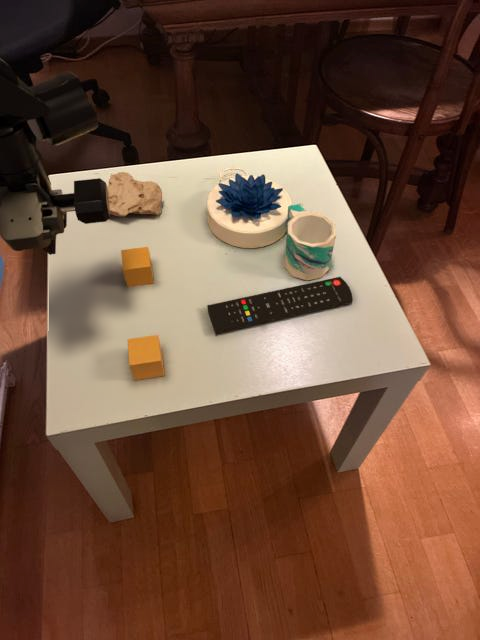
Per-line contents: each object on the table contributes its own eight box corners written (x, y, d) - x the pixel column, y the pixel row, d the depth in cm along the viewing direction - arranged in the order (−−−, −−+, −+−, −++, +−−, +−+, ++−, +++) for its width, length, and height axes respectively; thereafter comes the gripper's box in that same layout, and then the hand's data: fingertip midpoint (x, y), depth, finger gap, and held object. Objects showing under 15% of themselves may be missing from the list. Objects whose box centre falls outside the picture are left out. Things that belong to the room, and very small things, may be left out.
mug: (291, 283, 83) (295, 249, 76) (271, 236, 90) (273, 200, 83) (336, 274, 84) (344, 239, 78) (313, 228, 91) (318, 192, 85)
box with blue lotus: (306, 211, 84) (268, 143, 95) (219, 228, 81) (191, 156, 92) (301, 239, 90) (266, 172, 101) (220, 256, 87) (193, 185, 98)
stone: (122, 186, 97) (117, 165, 93) (170, 206, 94) (167, 185, 90) (94, 213, 92) (87, 193, 88) (143, 234, 89) (139, 214, 85)
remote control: (207, 310, 80) (207, 305, 79) (341, 281, 84) (343, 275, 83) (215, 336, 77) (215, 331, 76) (354, 304, 81) (355, 299, 80)
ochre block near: (164, 375, 73) (161, 360, 69) (134, 380, 72) (129, 365, 68) (161, 350, 75) (158, 334, 71) (132, 355, 74) (127, 339, 71)
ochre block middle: (154, 283, 83) (150, 266, 79) (127, 287, 82) (122, 269, 78) (151, 264, 85) (148, 246, 82) (125, 267, 85) (121, 249, 81)
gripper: (-86, 216, 50) (-23, 305, 63) (97, 196, 53) (122, 286, 66) (-68, 151, 57) (-14, 244, 69) (94, 136, 59) (118, 229, 72)
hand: (52, 252), depth 69 cm, fingers closed
